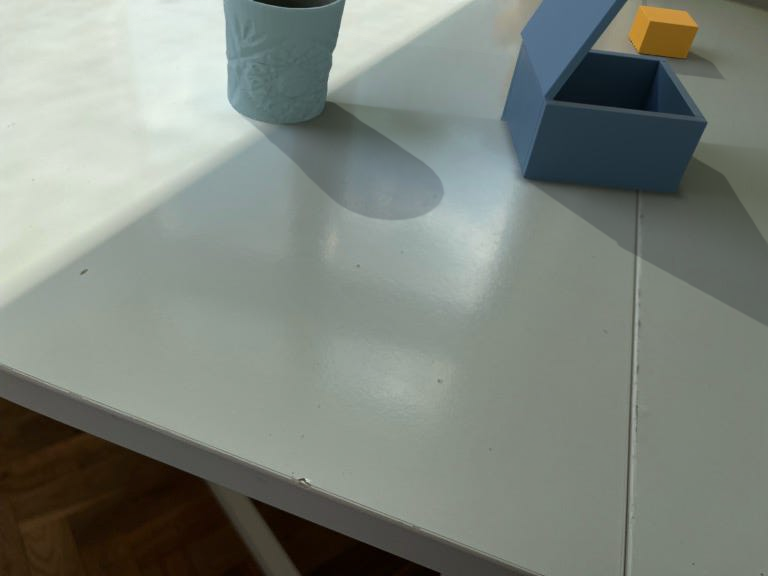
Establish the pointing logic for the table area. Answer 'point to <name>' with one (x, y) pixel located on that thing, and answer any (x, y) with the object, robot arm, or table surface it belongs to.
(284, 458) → the table surface
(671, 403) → the table surface
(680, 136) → the cool box
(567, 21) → the lid
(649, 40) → the cheese pack
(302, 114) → the embossed flower pot
